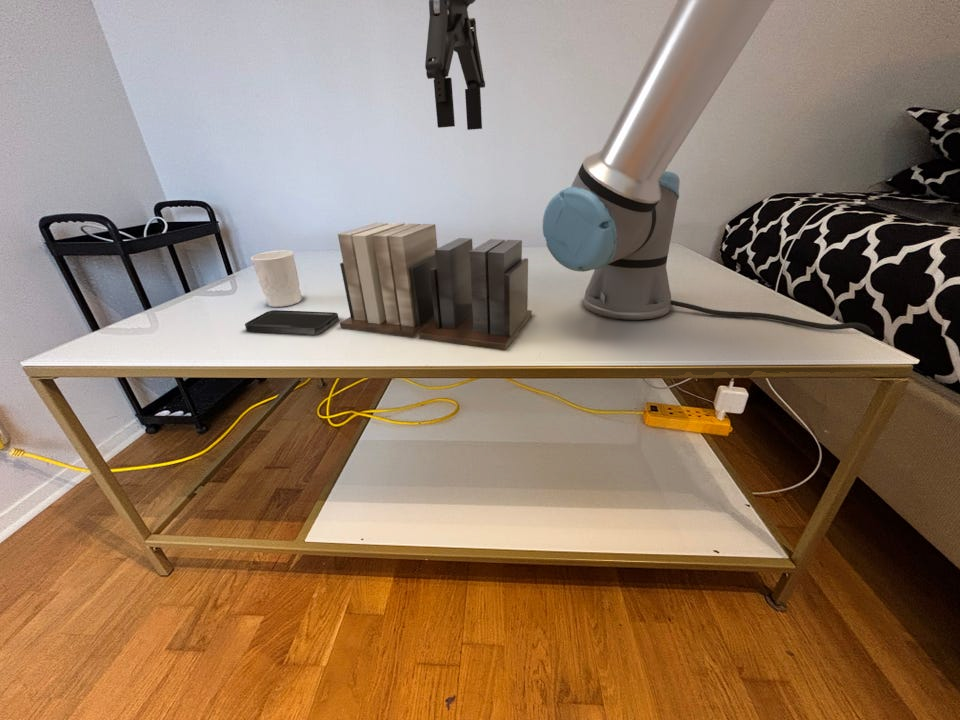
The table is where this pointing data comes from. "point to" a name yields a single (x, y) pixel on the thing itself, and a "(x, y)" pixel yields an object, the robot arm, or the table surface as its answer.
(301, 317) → the phone
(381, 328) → the beige book set
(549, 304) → the table surface
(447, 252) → the grey stand
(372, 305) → the white book
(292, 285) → the white cup
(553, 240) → the robot arm
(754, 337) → the table surface
